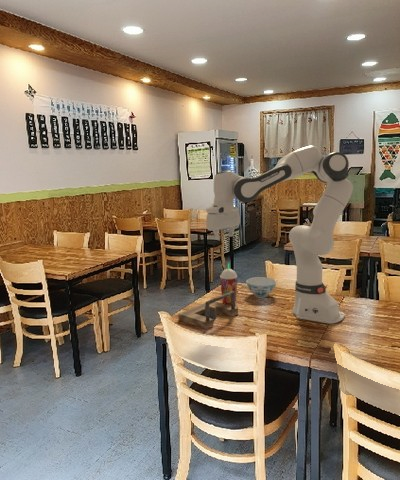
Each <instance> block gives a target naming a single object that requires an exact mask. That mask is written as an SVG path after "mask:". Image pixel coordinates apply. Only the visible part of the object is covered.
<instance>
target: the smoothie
mask: <svg viewBox="0 0 400 480" xmlns="http://www.w3.org/2000/svg"><path fill="white" fill-rule="evenodd" d="M219 277H220V278H219V279H220V288H221V291H220V292H221V296H222V295H224V294H227V293H229V292H231V291H235V302H236V301H237V290H238V289H237V288H238V287H237V286H238V275H237V273H236V271H235V270H234V269H232V268H230V263H227V268H225V269H224V270H222V272H221V274H220V275H219ZM221 302H223V303H222V304H226V305H230V306H231V295H230V296H228V297H225V298H223V299H221Z"/></svg>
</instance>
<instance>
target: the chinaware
mask: <svg viewBox="0 0 400 480" xmlns="http://www.w3.org/2000/svg"><path fill="white" fill-rule="evenodd" d="M245 282H246V287H247V289H248V290H249V291H250V292H251V294H253V295H254V297H255V298H263V299H265V298H267V297H268V296H269V294H272V292H273V291H274V289H275V287H276V285H277V281H276V280H275V278H271V277H265V276H257V277H256V276H255V277H254V276H253V277H250V278H248V279H246V281H245Z"/></svg>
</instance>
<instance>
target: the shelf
mask: <svg viewBox="0 0 400 480" xmlns="http://www.w3.org/2000/svg"><path fill="white" fill-rule="evenodd" d="M230 295H231V305H226V304H224V303H222V302H218V301H222V299H223V298H225V297H228V296H230ZM205 305H206V317H205ZM209 305H214V306H216V314H221V315H224V316H227V317H231V318H232V317H235V316H237V315H239V307H237V306H236V301H235V291H231V292H229V293H227V294H224V295H222V294H221V295H219V296H217V297H215V298H212V299H210V300H207V301H205V302H203V303H202V304H199V305H196V306H194V307H192V308H190V309H186V310H184V311H182V312H180V313H178V321H180V322H183V323H186V324H189V325H192V326H194V327H195V326H196V327H198V328H201V329H205V330H208V329H210V328H212V327H214V319H211V318H210V311H209Z"/></svg>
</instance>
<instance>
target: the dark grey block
mask: <svg viewBox="0 0 400 480" xmlns="http://www.w3.org/2000/svg"><path fill="white" fill-rule="evenodd" d="M209 311H210V318H211V319H213V320H216V319H217V312H216V306H214V305H209ZM204 317H206V305H205V315H204Z"/></svg>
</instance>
